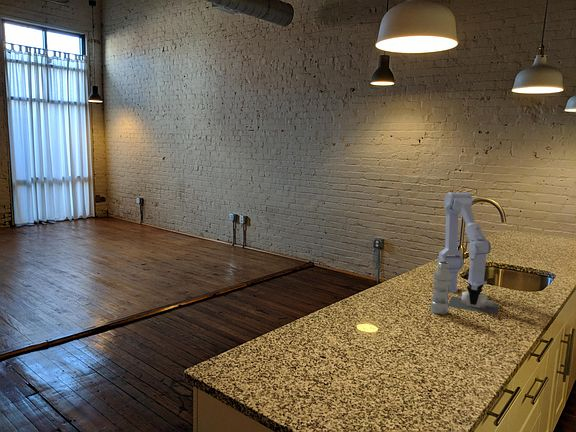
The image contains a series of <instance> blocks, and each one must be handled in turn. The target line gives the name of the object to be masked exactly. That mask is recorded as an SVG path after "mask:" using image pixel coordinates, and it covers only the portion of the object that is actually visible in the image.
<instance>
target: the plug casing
mask: <svg viewBox="0 0 576 432" xmlns="http://www.w3.org/2000/svg"><path fill="white" fill-rule="evenodd" d="M460 298H461V304H463V305H466V306H472V307H477V308H486V304H489V305H493V303H494V300H491V299H488V295H487V294H483V293H480V295H479V297H478V301H477V304H476V305H473V304H470V296H469V292H468V291H465V290H464V291H461V297H460Z"/></svg>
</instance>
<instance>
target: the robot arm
mask: <svg viewBox="0 0 576 432" xmlns="http://www.w3.org/2000/svg"><path fill="white" fill-rule="evenodd" d="M443 203H444V204H443V207H444V208H443V209H444V211H445V241H444V242H445V243H444V245H445V246H444V249H442V250H441V251H439V252H438V256H437V257H438V258H437V260H436V264H437V266H438V263H439V262H448V263H449V268H448V270H449V272H450V273H451V276H452V280H451V283H450V287H449V292H451V293H455V294H457V291H458V290H459V287H458V286H457V285H458V276H459V275H458V274H459V272H460V271H461V270H462V268H463V267H464V259H463V253H462V252H461V251H460V250H459V249H458V244H459V243H458V242H459V241H458V238H459V237H458V236H459V214H460V215H461V216H462V219H463V221H464V224H465V225H466V226H465V228H464V231H465V234H466V236H467V240H468V242H469V245H468V246H467V247H468V252H469V255H468V256H469V258H470V259H469V260H470V261H469V271H468V278H467V282H468V283H467V284H468V285H467V286H466V289H467V292H469V296H470V304H473V305H476V304H477V301H478V297H479V295H480V294H482V292H483V288H484V286H485V285H487V283H488V281H487V280H485V276H486V275H485V272H486V264H487V255H489V254H490V253H491V251H492V250H491V249H492V248H491V242H490V241H489V240H488V239H487V238H486V237H484V234H483V231H482V229H481V226H480V225H479V224H478V223H477V222H476V221H475V217H474V212H473V209H472V206H473V196H472V194H471V193H470V192H450V191H448V192H447V193H446V195H445V196H444V200H443ZM437 269H438V268H436V270H437ZM436 270H435V271H436Z"/></svg>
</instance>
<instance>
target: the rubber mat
mask: <svg viewBox="0 0 576 432" xmlns="http://www.w3.org/2000/svg"><path fill="white" fill-rule="evenodd" d="M461 298H462V297H459V296H453V295H451V298H450V300H449V301H448V303H449V308H455V309H456V308H457V309H461V310H466V311H473V312H478V313H482V314H489V315H496V316H498V313H499V303H494V302H493V305H489V304H486V308H477V307H472V306H466V305H463V304H461Z"/></svg>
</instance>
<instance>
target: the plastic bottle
mask: <svg viewBox="0 0 576 432" xmlns="http://www.w3.org/2000/svg"><path fill="white" fill-rule="evenodd" d="M437 267H438V268H436V269H437V270H435V272H434V273H433V276H432V277H433V292H432V293H433V294H432V298H431V302H430V307H429V308H430V310H431V312H432V313H433V314H436V315H446V314H447V313H448V312H449V309H450V307H449V287H450V283H451V280H452V276H451V273H450V272H449V270H448V268H449V263H448V262H439V263H438V265H437Z"/></svg>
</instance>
